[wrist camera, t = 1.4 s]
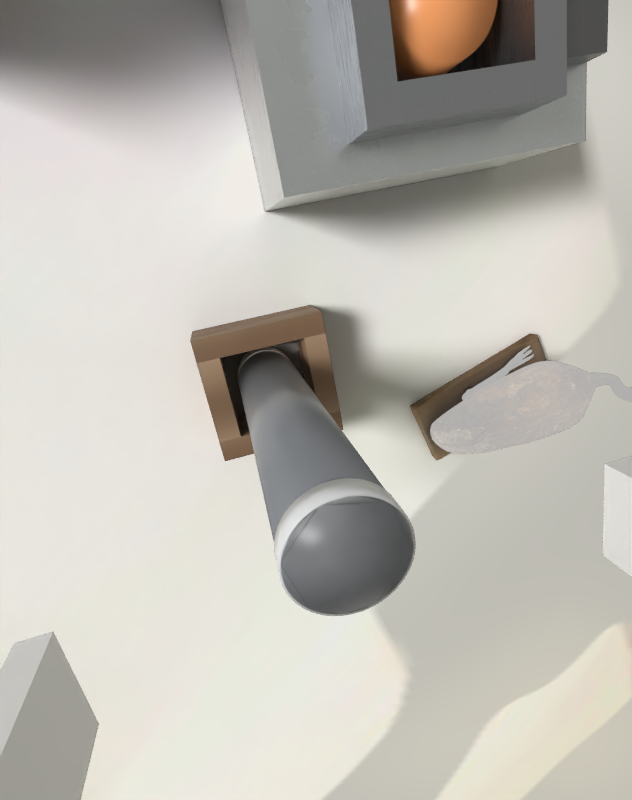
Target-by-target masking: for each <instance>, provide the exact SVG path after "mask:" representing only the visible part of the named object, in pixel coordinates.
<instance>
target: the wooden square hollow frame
mask: <svg viewBox="0 0 632 800" xmlns="http://www.w3.org/2000/svg"><path fill="white" fill-rule="evenodd" d="M294 340H297V343H298V348H299V353H300V358H301V362H302V367H303V372H304V377H305V381H306V383H307V384H308V386H309V387H310V388H311V390H312V391H313V392H314V394H315V395H316V396H317V398H318V399H319V400H320V402H321V403H322V405H323V406H324V407H325V409H326V410H327V411H328V413H329V414H330V415H331V417H332V418H333V420H334V421H335V422H336V424H337V425H338V426H339V428H340V429H341V430H343V425H342V420H341V414H340V409H339V403H338V398H337V392H336V387H335V381H334V376H333V371H332V365H331V360H330V354H329V349H328V343H327V338H326V332H325V327H324V321H323V316H322V311H320V310H318V309H317V308H315V307H313V306H311V305H308V306H304V307H299V308H295V309H290V310H286V311H281V312H277V313H273V314H268V315H264V316H259V317H255V318H250V319H246V320H241V321H237V322H233V323H228V324H224V325H219V326H215V327H210V328H206V329H201V330H197V331H193V332H192V336H191V345H192V348H193V352H194V355H195V359H196V362H197V366H198V369H199V373H200V376H201V380H202V383H203V386H204V390H205V393H206V397H207V400H208V404H209V407H210V411H211V414H212V418H213V421H214V425H215V428H216V432H217V435H218V439H219V442H220V445H221V449H222V452H223V456H224V459H225V461H228V460H231V459H235V458H239V457H243V456H246V455H250V454H254V450H253V445H252V441H251V436H250V432H249V427H248V423H247V418H246V416H245V417H242V418H237V414H236V410H235V406H234V403H233V399H232V395H231V391H230V388H229V384H228V380H227V376H226V373H225V369H224V365H223V362H222V357H226V356H230V355H235V354H239V353H243V352H247V351H252V350H256V349H260V348H264V347H269V346H273V345H277V344H281V343H286V342H290V341H294Z"/></svg>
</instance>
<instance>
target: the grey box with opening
mask: <svg viewBox="0 0 632 800" xmlns="http://www.w3.org/2000/svg"><path fill="white" fill-rule="evenodd" d="M220 1H221V6H222V10H223V15H224V20H225V25H226V29H227V34H228V39H229V44H230V48H231V53H232V58H233V63H234V67H235V72H236V77H237V82H238V86H239V91H240V96H241V101H242V105H243V110H244V115H245V120H246V124H247V129H248V134H249V139H250V143H251V148H252V153H253V158H254V162H255V167H256V172H257V177H258V181H259V186H260V191H261V196H262V200H263V205H264V210H265V211H269V210H274V209H279V208H285V207H290V206H295V205H300V204H305V203H311V202H316V201H321V200H326V199H331V198H337V197H342V196H347V195H352V194H357V193H363V192H368V191H373V190H378V189H383V188H389V187H394V186H399V185H404V184H409V183H415V182H420V181H425V180H430V179H435V178H441V177H446V176H451V175H456V174H461V173H467V172H472V171H477V170H482V169H487V168H493V167H497V166H501V165H504V164H507V163H511V162H514V161H518V160H521V159H525V158H528V157H532V156H535V155H538V154H542V153H545V152H549V151H552V150H556V149H559V148H562V147H566V146H569V145H573V144H576V143H580V142H583V141H586V68H587V62H588V61H590V60H592V59H594V58H596V57H598V56H600V55H602V54H603V53H606V52H607V32H608V0H497V8H496V13H495V17H494V21H493V24H492V26H491V28H490V31H489V33H488V35H487V36H486V38H485V40H484V41H483V42H482V44H481V45H480V46H479V47H478V48H477V49H476V51H474V52H473V53H472V54H471V55H470V56H468V57H467V58H466V59H464V60H463V61H462V62H460V63H459V64H458V65H456V66H455V67H454V68H452V69H451V70H450V71H448V72H447V73H446V74H443V75H437V76H430V77H424V78H418V79H411V80H405V81H399V82H398V81H397V72H396V63H395V53H394V44H393V35H392V26H391V16H390V7H389V0H220Z"/></svg>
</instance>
